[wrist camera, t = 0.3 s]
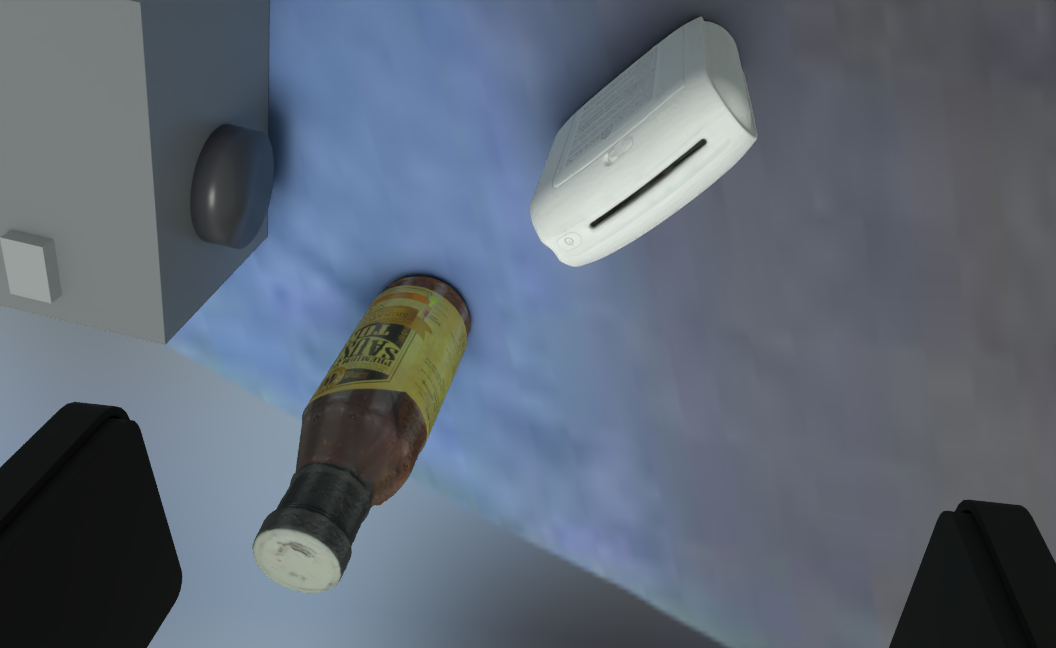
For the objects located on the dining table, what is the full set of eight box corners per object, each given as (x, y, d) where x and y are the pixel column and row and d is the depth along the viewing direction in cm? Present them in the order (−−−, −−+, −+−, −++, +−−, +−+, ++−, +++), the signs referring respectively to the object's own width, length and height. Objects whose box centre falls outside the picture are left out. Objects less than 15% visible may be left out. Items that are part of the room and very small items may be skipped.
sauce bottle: (432, 252, 49) (308, 482, 32) (494, 330, 51) (407, 583, 35) (352, 300, 52) (198, 535, 35) (413, 372, 54) (297, 626, 37)
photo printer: (596, 191, 46) (573, 304, 35) (544, 132, 44) (504, 232, 34) (756, 68, 41) (784, 157, 31) (704, -2, 40) (715, 67, 29)
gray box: (39, -97, 42) (-180, -63, 31) (300, -39, 41) (170, 16, 31) (76, 191, 51) (-85, 296, 40) (292, 242, 50) (188, 361, 39)
